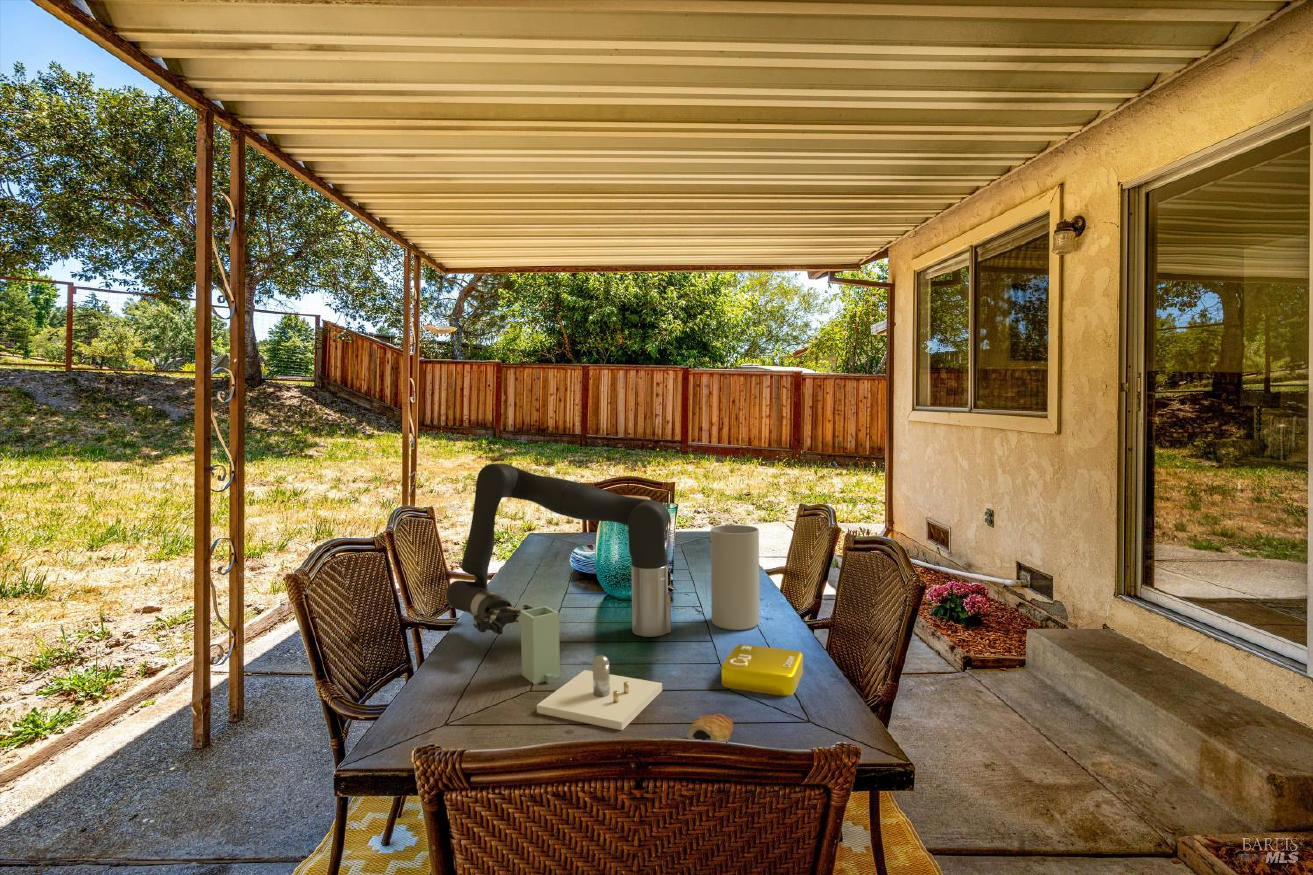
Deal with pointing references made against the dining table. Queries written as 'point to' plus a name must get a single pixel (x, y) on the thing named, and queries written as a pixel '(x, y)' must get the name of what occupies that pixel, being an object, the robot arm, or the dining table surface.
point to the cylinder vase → (735, 576)
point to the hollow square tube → (540, 644)
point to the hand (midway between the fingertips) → (519, 626)
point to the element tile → (763, 670)
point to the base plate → (600, 697)
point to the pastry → (711, 728)
